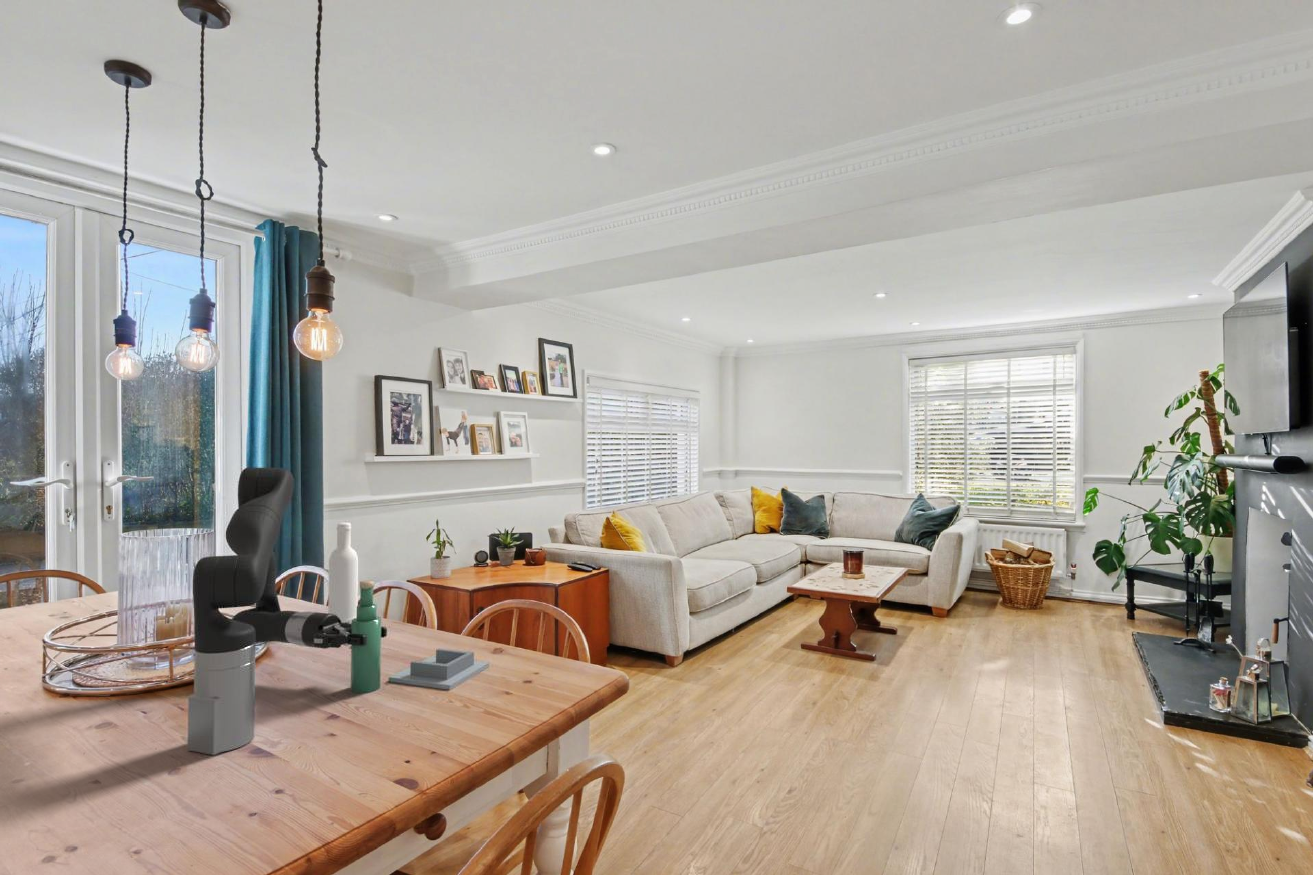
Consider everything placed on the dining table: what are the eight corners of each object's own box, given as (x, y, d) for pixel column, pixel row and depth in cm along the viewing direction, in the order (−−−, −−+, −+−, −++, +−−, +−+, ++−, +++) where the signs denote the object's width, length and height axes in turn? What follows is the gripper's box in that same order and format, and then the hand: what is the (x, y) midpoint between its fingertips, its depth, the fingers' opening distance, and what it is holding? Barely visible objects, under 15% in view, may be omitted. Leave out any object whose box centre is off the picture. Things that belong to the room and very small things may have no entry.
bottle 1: (363, 624, 201) (364, 521, 201) (348, 631, 193) (349, 525, 193) (337, 623, 202) (338, 521, 202) (321, 630, 194) (323, 524, 194)
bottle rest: (450, 689, 149) (450, 671, 149) (388, 681, 153) (388, 663, 153) (489, 666, 164) (489, 650, 164) (431, 660, 169) (432, 643, 169)
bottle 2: (367, 694, 145) (368, 585, 146) (344, 691, 147) (345, 583, 147) (386, 685, 151) (387, 580, 151) (363, 682, 153) (365, 578, 153)
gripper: (287, 620, 147) (352, 627, 142) (337, 605, 160) (397, 611, 155) (287, 655, 147) (351, 663, 142) (336, 637, 160) (397, 644, 155)
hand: (375, 636), depth 149 cm, fingers closed on bottle 2, 6 cm apart
